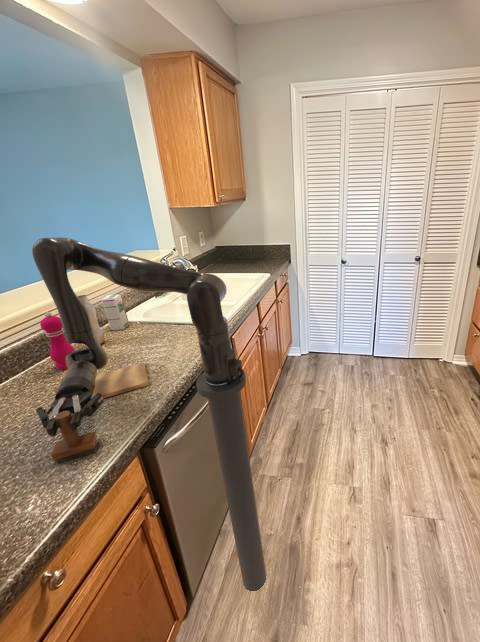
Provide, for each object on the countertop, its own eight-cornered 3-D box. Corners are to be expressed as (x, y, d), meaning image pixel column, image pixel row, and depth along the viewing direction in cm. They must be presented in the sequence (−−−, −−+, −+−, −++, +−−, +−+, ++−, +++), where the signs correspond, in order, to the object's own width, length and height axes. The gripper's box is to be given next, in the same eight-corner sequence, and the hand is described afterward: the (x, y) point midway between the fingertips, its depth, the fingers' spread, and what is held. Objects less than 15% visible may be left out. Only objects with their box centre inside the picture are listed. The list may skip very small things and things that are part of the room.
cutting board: (144, 365, 111) (144, 362, 111) (149, 385, 100) (148, 381, 99) (61, 387, 101) (60, 384, 100) (55, 412, 89) (54, 408, 89)
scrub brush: (98, 441, 78) (84, 403, 74) (96, 453, 75) (81, 414, 70) (59, 452, 75) (43, 414, 71) (55, 465, 72) (37, 426, 67)
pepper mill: (82, 358, 118) (64, 307, 110) (73, 369, 111) (53, 315, 103) (61, 361, 117) (41, 309, 109) (50, 371, 110) (28, 317, 102)
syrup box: (124, 329, 141) (115, 298, 135) (110, 330, 141) (100, 299, 135) (129, 324, 146) (121, 293, 140) (116, 325, 146) (107, 294, 140)
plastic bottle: (87, 349, 124) (70, 300, 117) (87, 343, 130) (71, 296, 122) (106, 344, 127) (91, 296, 120) (105, 338, 133) (90, 292, 125)
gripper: (39, 383, 80) (14, 426, 65) (103, 369, 85) (94, 406, 70) (49, 408, 82) (28, 455, 68) (111, 392, 88) (104, 433, 73)
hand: (62, 429), depth 69 cm, fingers open, 3 cm apart
